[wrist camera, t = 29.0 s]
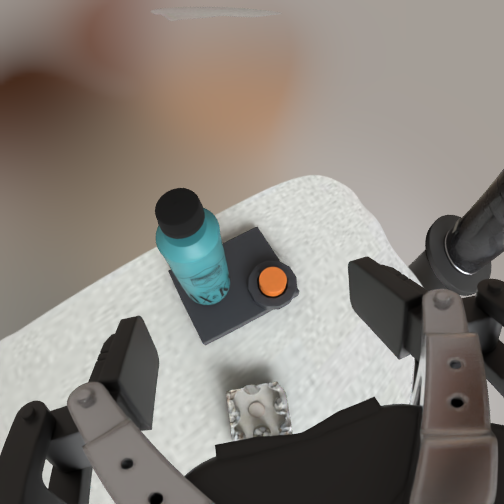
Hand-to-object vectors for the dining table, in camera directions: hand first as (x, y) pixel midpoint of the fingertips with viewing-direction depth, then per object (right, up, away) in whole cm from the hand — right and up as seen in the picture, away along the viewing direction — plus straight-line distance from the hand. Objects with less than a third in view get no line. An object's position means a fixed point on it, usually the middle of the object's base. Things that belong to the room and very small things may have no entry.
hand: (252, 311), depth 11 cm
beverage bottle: (-6, -3, +31) cm, 31 cm away
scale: (-3, -3, +33) cm, 33 cm away
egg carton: (+1, -20, +24) cm, 32 cm away
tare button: (+3, -2, +29) cm, 29 cm away
